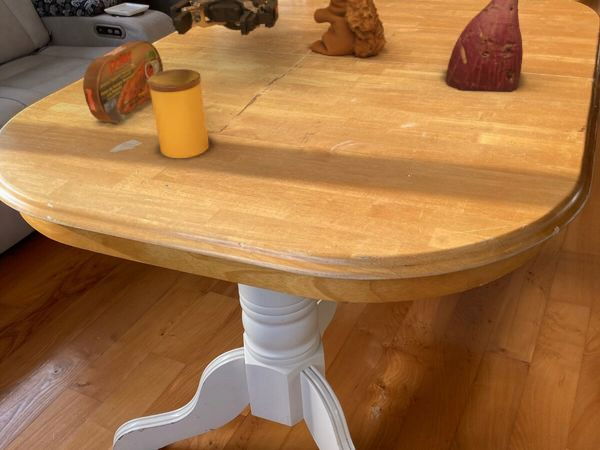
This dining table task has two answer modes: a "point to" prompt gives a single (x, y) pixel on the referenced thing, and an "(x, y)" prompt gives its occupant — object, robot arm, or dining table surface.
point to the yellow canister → (179, 112)
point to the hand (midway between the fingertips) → (211, 27)
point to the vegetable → (488, 51)
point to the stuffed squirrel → (350, 29)
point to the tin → (120, 80)
